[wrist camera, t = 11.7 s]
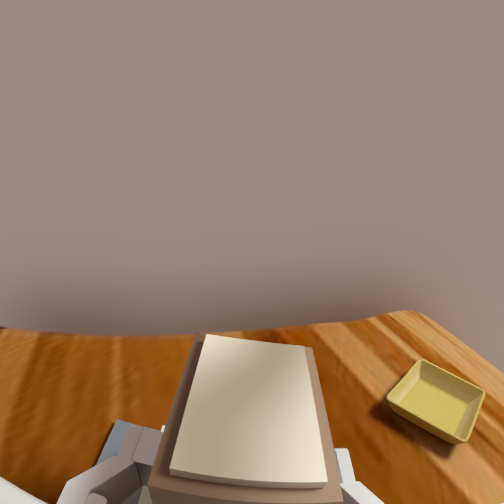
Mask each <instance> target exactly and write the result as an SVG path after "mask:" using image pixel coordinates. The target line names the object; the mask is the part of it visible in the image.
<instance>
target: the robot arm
mask: <svg viewBox="0 0 504 504" xmlns="http://www.w3.org/2000/svg"><path fill="white" fill-rule="evenodd" d="M162 435H163V432H160V431H156V430H152V429H148V428H144V427H140V426H136V425H133V424H131V426H130V427H129V428H128V431H127V433H126V435H125V438H124V440H123V442H122V445H121V447H120V450H119V452H118V454H117V456H111V457H110V458H108V459H106V460H104V461H103V462H101V463H99V464H98V465H96V466H94V467H92V468H91V469H89V470H87V471H85V472H83V473H82V474H80V475H78V476H76V477H74V478H72V479H70V480H69V481H67V483H66V485H65V487H64V489H63V491H62V493H61V495H60V497H59V499H58V502H57V504H120V503H121V502H123V501H124V500H125V499H127V498H128V497H129V496H130V495H132V494H133V493H134V492H135V491H137V490H138V489H139V488H140V487H142V485H144V486H147V483H148V480H149V477H150V473H151V470H152V467H153V464H154V460H155V457H156V454H157V451H158V448H159V444H160V441H161V438H162ZM334 453H335V458H336V463H337V468H338V474H339V479H340V485H341V490H342V496H343V502H342V504H384V503H383V502H382V501H381V500H380V499H379V498H377V497H376V496H375V495H374V494H373V493H372V492H371V491H369V490H368V489H367V488H366V487H365V486H364V485H363V484H362V483H360V482H359V481H358V482H356V481H355V476H354V472H353V468H352V464H351V460H350V456H349V451H348V450H347V448H339V449H334ZM0 504H48V503H46V502H44V501H42V500H40V499H38V498H36V497H34V496H32V495H31V494H29V493H27V492H25V491H23V490H22V489H20V488H18V487H17V486H15V485H13V484H12V483H10V482H8V481H7V480H5V479H4V478H2V477H1V476H0ZM500 504H504V502H503V503H500Z"/></svg>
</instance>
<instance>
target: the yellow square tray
mask: <svg viewBox="0 0 504 504" xmlns="http://www.w3.org/2000/svg"><path fill="white" fill-rule="evenodd" d="M485 394H486V393H485V391H484V390H482V389H481V388H479V387H477V386H475V385H473V384H471V383H469V382H467V381H465V380H463V379H461V378H459V377H457V376H455V375H454V374H451V373H450V372H448V371H446V370H444V369H442V368H440V367H438V366H436V365H434V364H432V363H430V362H428V361H426V360H424V359H420V360H418V361H417V362H416V363H415V364H414V366H413V367H412V368H411V369H410V370H409V372H408V373H407V374H406V375H405V376H404V377H403V378H402V380H401V381H400V382H399V383H398V384H397V385H396V386H395V387H394V388H393V389H392V390H391V392H390V393H389V394H387V396H386V399H387V402H388V404H389V406H390V408H391V409H392V410H393V411H394V412H395V413H396V414H398V415H400V416H402V417H403V418H405V419H407V420H408V421H410V422H412V423H414V424H415V425H417V426H419V427H421V428H422V429H424V430H426V431H428V432H430V433H431V434H433V435H435V436H437V437H439V438H440V439H442V440H444V441H446V442H448V443H452V444H461V443H465V442H467V441H468V439H469V437H470V435H471V432H472V429H473V427H474V424H475V422H476V419H477V416H478V413H479V411H480V408H481V405H482V402H483V400H484V397H485Z"/></svg>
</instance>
